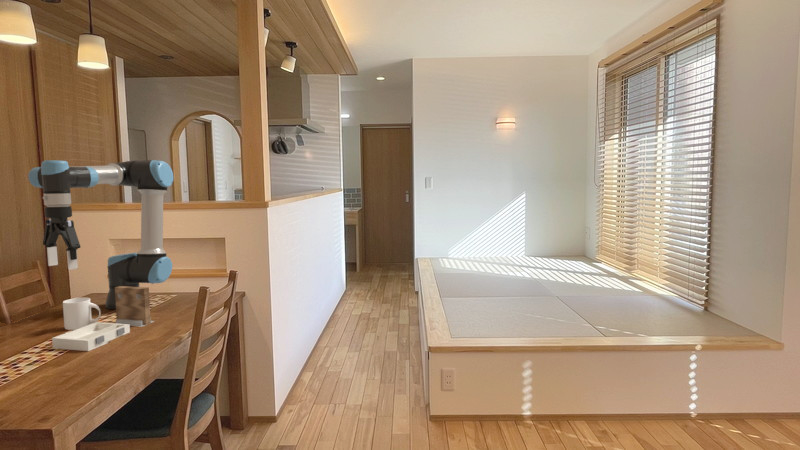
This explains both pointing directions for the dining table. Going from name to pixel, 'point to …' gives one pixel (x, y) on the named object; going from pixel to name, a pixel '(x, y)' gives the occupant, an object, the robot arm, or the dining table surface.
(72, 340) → the white tray
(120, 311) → the door
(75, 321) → the mug
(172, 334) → the dining table surface
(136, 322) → the rack
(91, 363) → the dining table surface
